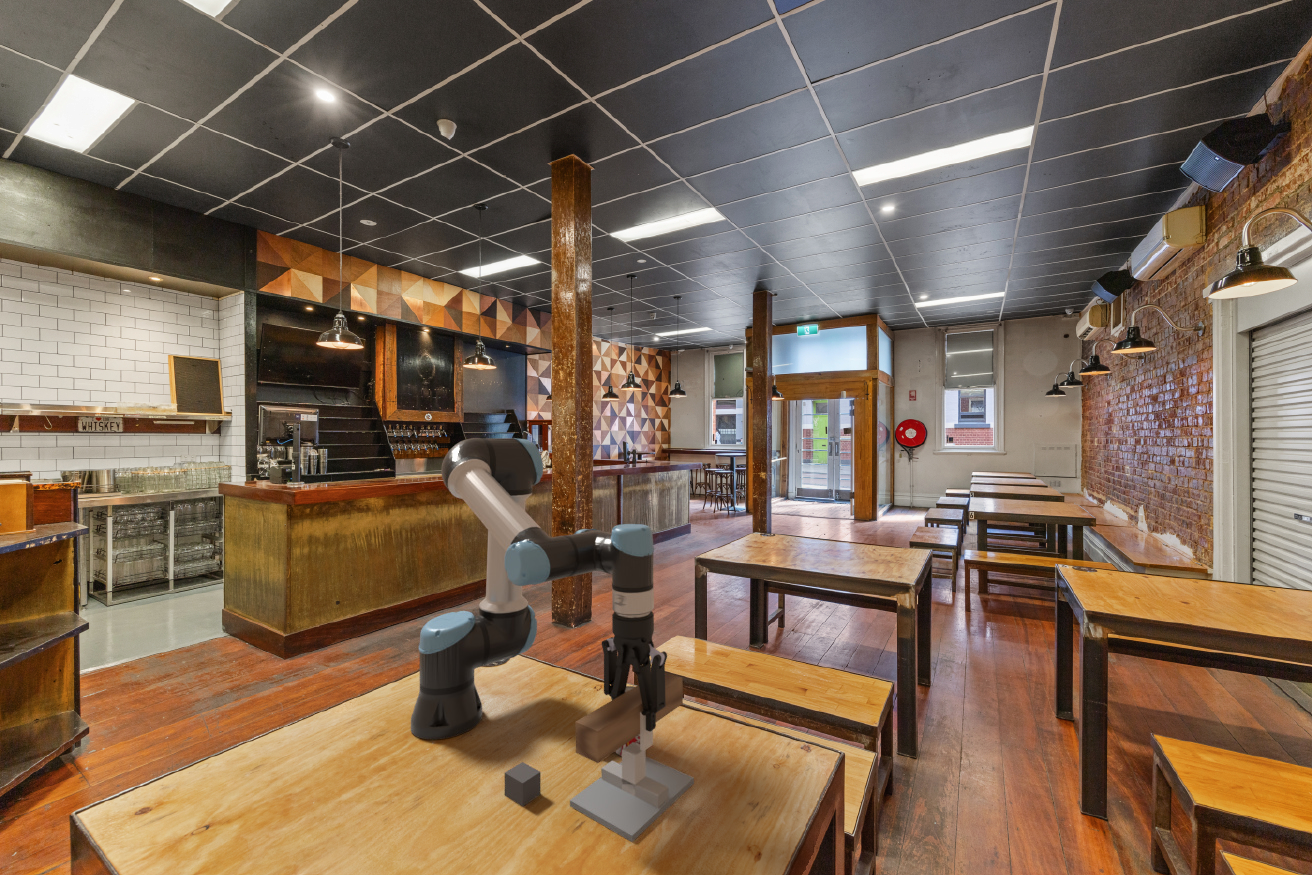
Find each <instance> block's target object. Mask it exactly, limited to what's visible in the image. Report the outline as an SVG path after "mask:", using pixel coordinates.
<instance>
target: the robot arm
mask: <svg viewBox="0 0 1312 875" xmlns="http://www.w3.org/2000/svg"><path fill="white" fill-rule="evenodd" d="M441 464H442V465H441V478H442V480H443V484H444V486H445V487H446V489H447V490H448V491H449V492H450V493H451V495H452V496H454V498H458V499H460V500H461V499H462V500H463V501H464V502H465V504H466V505H467V506H468V507H469V509H470V510H471V512H473V513H474V515H475V516H476V517H477V518H478V519H479V521H481V522H480V523H482V524H483V526H484V527H485V528H486V529H487V556H486V558H487V559H486V584H485V585H486V587H485V588H486V589H485V598H484V599H483V600H482V601H480V602H479V604H478V614H477V615H474V614H473V613H472V612H471V611H467V610H460V611H452V612H446V613H444V614H441V615H438V616H436V617H433V618H432V619H430V620H429V621H427V622H426V623H425V624H424V625H423V626H422V628H421V630H420V633H419V634H420V636H419V644H418V651H419V693H418V696H417V698H416V702H415V704H414V708H413V712H412V713H411V716H410V732H411V734H413V736H415V737H417V738H420V739H424V740H443V739H444V740H445V739H449V738H452V737H457V736H459V735H462V734H464V733H466V732H467V733H468V731H471V730H472V729H474V728H475V727H476V726H477V725H478V724H479V723H480V722H481V721H482V718H483V705H482V701H481V698H480V695H479V693H478V689H477V687H476V684H475V669H478V668H481V667H485V666H487V665H491V664H494V663H498V662H501V661H504V660H507V659H513V658H515V657H517V656H518V655H522V654H524V653H526V652H527V651H529V650H530V648H532V646H533V644H534V643H535V640H536V637H537V632H538V621H537V618H536V613H535V610H534V609H533V608H532V606H531V605H529V602H528V600H527V599H526V597H525V596H523V586H528V585H529V586H530V585H540V584H543V583H548V582H550V581H551V582H552V581H557V580H559V579H564V578H569V577H575V576H578V575H584V574H588V573H592V572H600V573H603V574H604V573H605V574H607V575H608V574H609V575H611V579H612V582H611V588H612V589H611V594H612V595H611V597H612V601H611V602H612V607H611V608H612V610H613V613H612V615H611V617H612V618H611V619H612V620H611V621H612V622H611V624H612V625H611V626H612V627H611V628H612V634H613V635H614V636H613V637H608V638H607V639H604V640H602V641H601V647H602V648H601V649H602V652H603V693H604V695H605V696H609V697H610V698H611V701H612V700H614V699H615V698H617V697H619V696H621V695H622V694H624V693H626V692H625V690H626V687H627V685H628V679H629V675H630V674H629V673H630V669H631V666H633V667H632V669H633V671H634V674H636V678H637V682H638V683H637V685H639V689H640V694H641V699H642V704H643V709H644V710H643V711H641V712H640V750H641V751H645V752H646V750H647V749H649V748H650V747H652V746H653V745H654V730H656V727H657V722H656V713H657V712H658V711H660V710H661V709H663V708H664V707H665V705H666V702H665V673H666V668H665V667H666V663H667V662H666V661H667V658H668V653H667V652H666V651H660V650H658V649H657V648H655V644H654V641H653V635H654V630H655V615H654V614H655V613H654V612H653V610H654V608H655V595H654V594H655V592H654V590H655V589H654V587H655V586H654V552H655V547H654V538H653V537H654V536H653V530H652V528H651V527H650V526H648V525H646V524H641V523H638V524H637V523H624V524H623V523H621V524H617V525H615V526H613V527H612V530H611V532H608V531H602V530H600V529H596V528H590V529H588V528H583V529H579V530H577V531H575V533H573V534H568V535H566V534H565V535H558V536H549V534H547V532H546V531H545V530H543V529H542V527H541V526H540V525H538V523H537V522H536V521H535V520H534V519H533V518H532V517H531V516H530V515H529V514H528V513H527V511H526V500H527V499H528V498H530V496H532V495H533V486H535V485H536V484H538V483H540V481H541V478H543V474H544V462H543V458H542V455H541V453H540V450H539V449H538V447H537V445H536V444H535V443H533V441H531V440H529V439H526V438H515V437H510V438H509V437H507V438H506V437H504V438H503V437H501V438H485V437H484V438H482V437H481V438H480V437H472V438H468V439H464V440H461V441H459V442H458V443H456V444H454V446H452V447H451V448H450V449H449V450H448V452H447V453H446V455H445V456H444V458H443V461H442V463H441ZM650 658H651V659H650Z"/></svg>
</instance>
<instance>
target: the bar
mask: <svg viewBox="0 0 1312 875" xmlns="http://www.w3.org/2000/svg"><path fill="white" fill-rule="evenodd" d="M683 682H684V681H683V677H682V676H677V675H675V674H672V673H668V672H665V702H666V705H665V707H664V708H663V709H661V710H660V711H658V712H657V713H656V723H657V722H659V721H661V719H663V718H665V717H666V716H668V715H669V714H670V713H671V712H673V711H674V710H676V709H678V707H681V705H683V704H684V703H683V702H684V696H683V695H684V694H683V692H684V690H683V688H684V687H683ZM643 710H644V709H643V704H642V699H641V694H640V689H639V684H637V685H636V686H634V688H633V689H631V690H629V691H627V692H626V693H624V694H622V695H621V696H619V697H617V698H615V699H614V700H612V699H611V700H610V701H609V702H607V703H605V704H603V705H602V706H600V707H599V708H597V709H595V710H593V711H592V712H589V713H588V714H586V715H585V716H583V717H581V718H580V719H578V720H576V721H575V753H576V754H577V755H580V756H582V757H584V758H586V759H588V760H590V761H593V762H594V763H597V764H600V762H602V761H603V760H605V759H607V757H609V756H611V755H612V754H613V753H616V752H615V751H616V750H618V749H619V748H620V747H622V746H623V745H625V744H626V743H628V742H629V741H630V740H632V739H633V738H635V737H636V736H637V735H639V734H640V712H641V711H643Z"/></svg>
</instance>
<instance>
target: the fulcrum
mask: <svg viewBox="0 0 1312 875" xmlns="http://www.w3.org/2000/svg"><path fill="white" fill-rule="evenodd" d="M600 769H601V773H600V774H601V777H599V778H598V779H597V780H595V781H594V782H592V783H591V784H589V785H588V786H587V787H585V788H584V789H583V790H581V791H580V792H579V793H578V794H576V795H575V796H573V797H572V798H570V799H569V806H570V807H571V808H572V809H574V810H576V811H578V812H579V813H581V814H583V815H585V816H586V817H588V818H589V819H592V820H593V821H595V822H596V823H598V824H600V825H602V826H603V827H605V828H607V829H609V830H610V831H611V832H614V833H616V834H618V835H619V836H621V837H623V838H624V839H626V840H628V841H629V842H631V843H633V842H634V841H635V840H636V839H637V838H639V836H640V835H641V834H642V833H643V832H645V830H647V829H648V828H649V827H650V826H651V825H652V824H653V823H654V822H655V821H656V820H657V819H658V818H659V817H660V816H662V814H664V813H665V811H667V809H669V808H670V807H671V806H672V805H673V804H674V803H675V802H676V801H677V800H678V799H679V798H680V797H681V796H683V794H685V792H687V791H688V790H689V789H690V788H691V787H692V786H693V785H694V784H695V777H693V776H691V775H689V774H687V773H684V772H681V771H680V770H679V769H678V770H677V769H675V768H674V767H670V765H666V764H664V763H662V762H660V761H658V760H655V759H652V758H650V757H648V756H646V750H645V751H641V750H640V746H639V745H637V744H635V743H631V744H630V745H628V746H627V747H626V748H624V749H623V750H622V756H621V761H620V762H616V761H614V760H611V761H609V762H608V763H607V764H605V765H604V766H603V767H601V768H600Z"/></svg>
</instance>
